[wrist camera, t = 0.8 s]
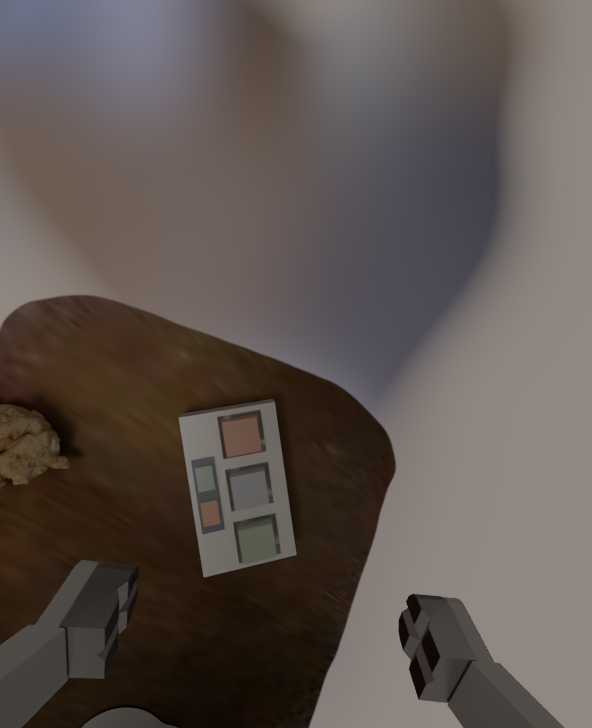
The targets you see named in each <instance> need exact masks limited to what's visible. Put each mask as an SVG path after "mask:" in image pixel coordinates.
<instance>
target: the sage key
mask: <svg viewBox="0 0 592 728" xmlns="http://www.w3.org/2000/svg"><path fill="white" fill-rule="evenodd" d="M238 535H239V541H240V548H241V554H242V561H243V564H247V563H252V562H256V561H260V560H264V559H268V558H272V557H276V556H277V553H276V546H275V540H274V533H273V526H272V519H271V517H268V518H263V519H259V520H254V521H250V522H245V523H241V524H238Z"/></svg>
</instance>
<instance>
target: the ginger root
mask: <svg viewBox="0 0 592 728" xmlns="http://www.w3.org/2000/svg"><path fill="white" fill-rule="evenodd" d="M59 441H61V440H60V439H59V437H58V435H57V433H56V432H55V431H54V430H53V429H52V427H51V425H50V423H49V422H47V421H46V419H45V417H44V416H43V415H41V414H40V413H39V412H37V411H36V410H32V411H30V410H28V409H26V408H23V407H18V406H14V405H10V404H0V491H1V490H2V489H3V488H4V486H5V485H6V484H7V483H8V481H9V480H10V479H12V481H13V484H14V485H18V484H28V483H29V482H30V481H31V480H32V479H33V478H35V477H36V476H38V475H39V474H41V473H43V472H45V471H47V470H48V468H50V467H52V468H58V469H63V468H66V469H70V462H69V460H68V458H66V457H65V456H60V453H59V452H60V446H59Z"/></svg>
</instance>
